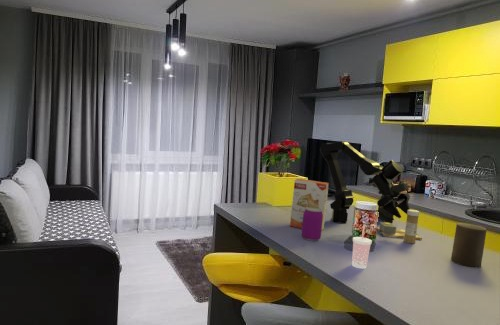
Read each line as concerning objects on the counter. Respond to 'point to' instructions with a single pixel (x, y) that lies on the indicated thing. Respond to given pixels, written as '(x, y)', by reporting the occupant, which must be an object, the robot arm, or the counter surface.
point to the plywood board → (397, 234)
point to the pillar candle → (468, 244)
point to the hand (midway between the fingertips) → (405, 216)
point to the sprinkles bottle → (411, 226)
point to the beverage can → (312, 224)
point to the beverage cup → (360, 251)
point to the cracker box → (308, 199)
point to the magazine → (385, 215)
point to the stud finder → (387, 227)
